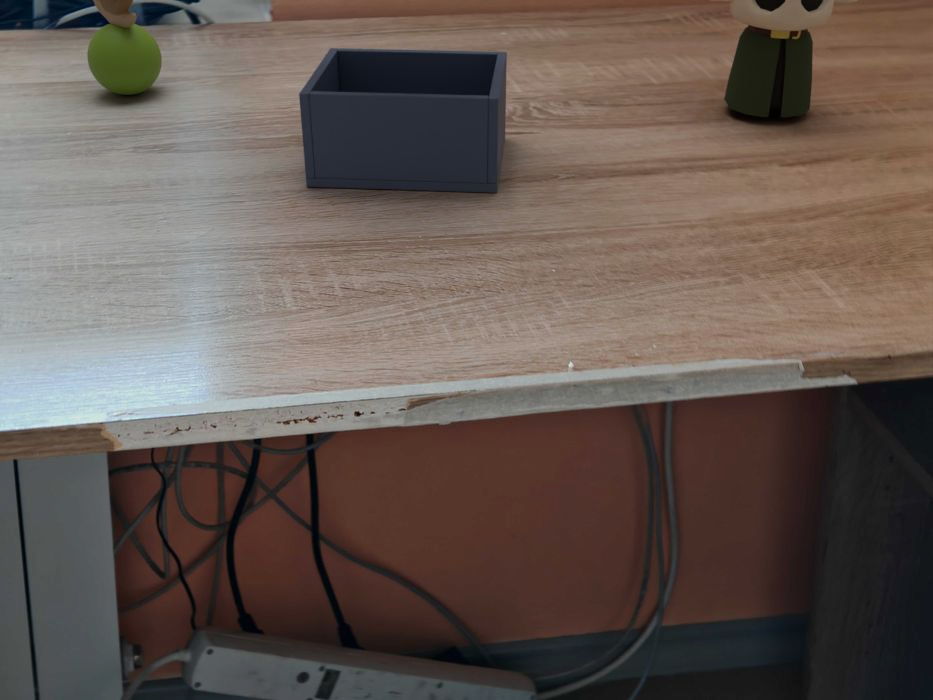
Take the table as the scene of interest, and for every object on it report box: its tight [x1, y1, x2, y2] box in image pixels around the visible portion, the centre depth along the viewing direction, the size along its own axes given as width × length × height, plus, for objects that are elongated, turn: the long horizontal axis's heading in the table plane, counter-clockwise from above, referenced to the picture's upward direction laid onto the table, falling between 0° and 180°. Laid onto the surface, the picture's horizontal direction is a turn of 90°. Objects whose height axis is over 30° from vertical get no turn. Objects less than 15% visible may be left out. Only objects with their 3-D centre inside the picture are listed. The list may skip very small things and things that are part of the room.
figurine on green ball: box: [86, 0, 163, 96], centre depth 82 cm, size 5×6×12 cm
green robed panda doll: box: [709, 0, 859, 119], centre depth 77 cm, size 11×7×13 cm, turn 87°
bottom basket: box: [298, 47, 508, 194], centre depth 70 cm, size 12×10×6 cm
